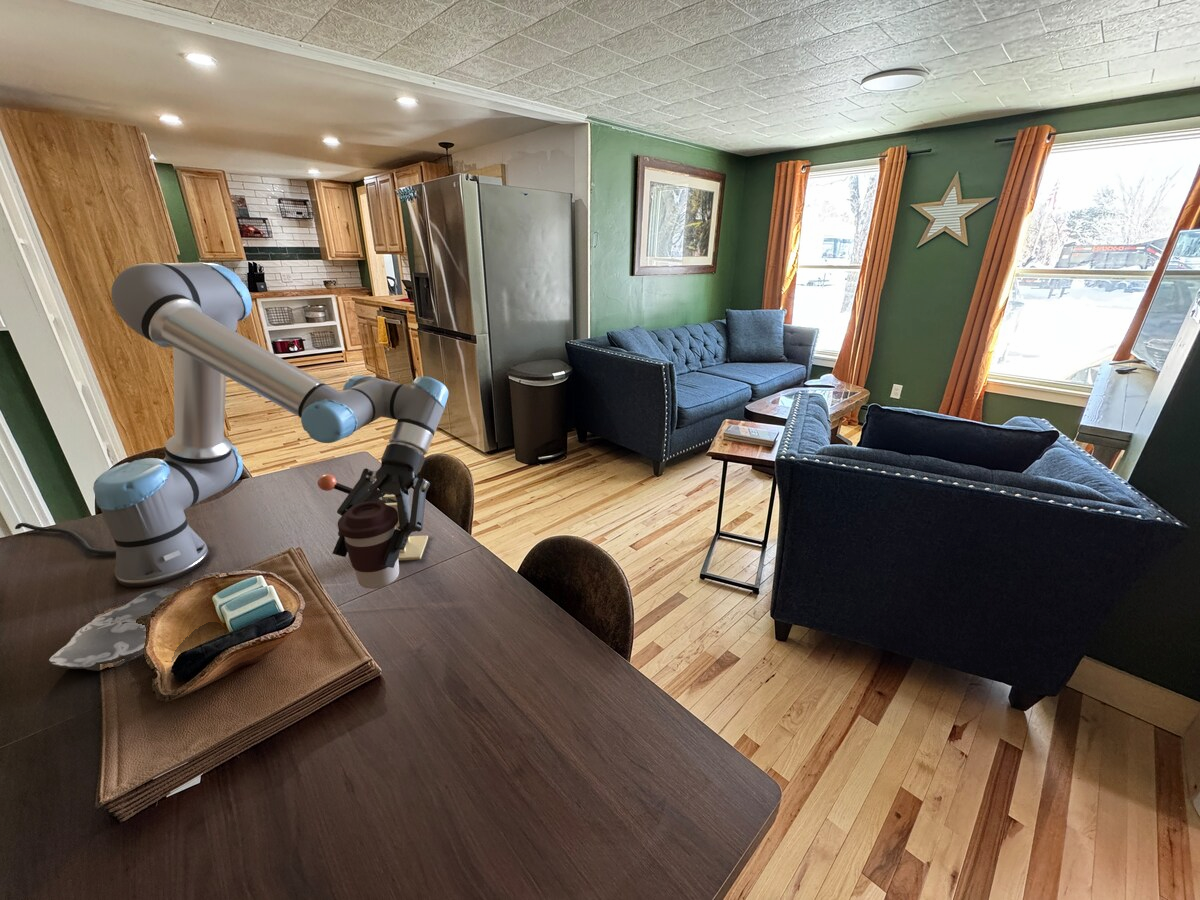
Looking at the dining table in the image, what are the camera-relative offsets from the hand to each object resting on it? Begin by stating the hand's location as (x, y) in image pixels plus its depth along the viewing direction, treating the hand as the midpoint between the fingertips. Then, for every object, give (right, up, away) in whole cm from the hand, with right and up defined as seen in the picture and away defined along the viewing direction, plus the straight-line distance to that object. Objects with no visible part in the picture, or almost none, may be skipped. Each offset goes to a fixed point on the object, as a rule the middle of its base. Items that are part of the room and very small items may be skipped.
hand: (362, 560), depth 86 cm
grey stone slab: (-39, -14, -1) cm, 42 cm away
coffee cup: (+1, -5, +5) cm, 7 cm away
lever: (-11, +9, +19) cm, 24 cm away
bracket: (-4, -4, +25) cm, 26 cm away
